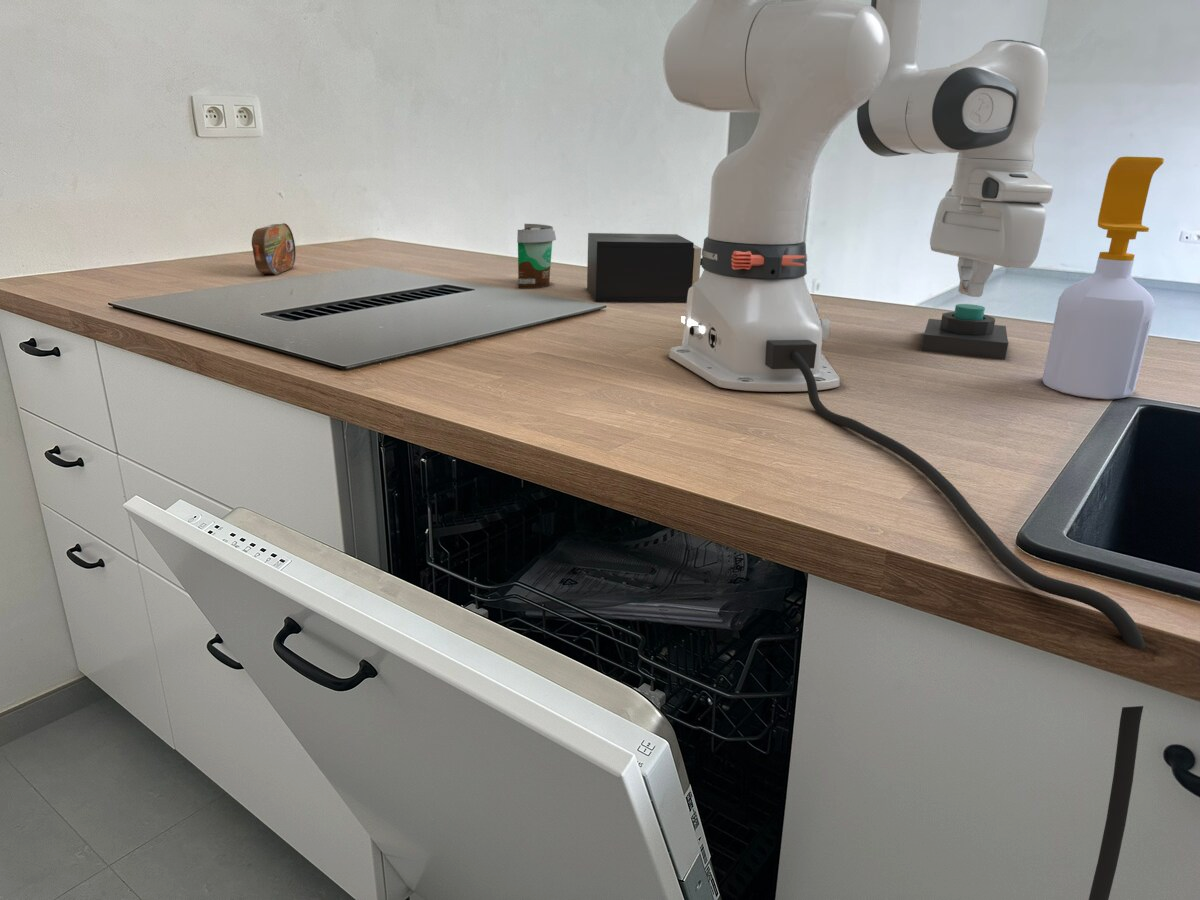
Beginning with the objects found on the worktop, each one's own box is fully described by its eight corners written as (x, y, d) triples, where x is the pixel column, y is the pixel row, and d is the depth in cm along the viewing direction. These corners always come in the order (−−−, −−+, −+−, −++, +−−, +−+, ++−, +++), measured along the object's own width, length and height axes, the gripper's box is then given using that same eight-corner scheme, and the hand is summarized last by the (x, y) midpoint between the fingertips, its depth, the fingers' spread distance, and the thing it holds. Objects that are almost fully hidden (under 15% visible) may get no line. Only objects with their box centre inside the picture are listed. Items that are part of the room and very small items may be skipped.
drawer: (706, 285, 152) (709, 240, 150) (723, 296, 142) (726, 248, 139) (602, 284, 150) (603, 238, 147) (611, 295, 139) (612, 246, 137)
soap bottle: (1046, 394, 93) (1097, 155, 85) (1037, 375, 101) (1083, 155, 93) (1140, 404, 90) (1202, 158, 82) (1123, 383, 98) (1178, 157, 90)
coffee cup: (553, 290, 148) (553, 231, 144) (517, 289, 148) (517, 230, 145) (557, 279, 159) (558, 224, 156) (524, 278, 160) (524, 223, 156)
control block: (1005, 360, 108) (1011, 328, 107) (921, 351, 112) (926, 320, 110) (1002, 341, 118) (1008, 312, 117) (926, 333, 122) (930, 305, 121)
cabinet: (674, 289, 152) (677, 234, 149) (690, 302, 141) (693, 242, 137) (586, 289, 150) (588, 232, 147) (595, 302, 139) (597, 241, 135)
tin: (269, 277, 153) (264, 229, 150) (251, 277, 153) (246, 228, 150) (298, 266, 167) (294, 221, 164) (282, 265, 167) (278, 220, 164)
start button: (982, 323, 112) (985, 309, 111) (953, 320, 113) (955, 307, 112) (982, 318, 115) (984, 305, 114) (953, 315, 116) (955, 303, 115)
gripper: (927, 181, 117) (911, 283, 122) (1011, 185, 98) (988, 307, 102) (971, 183, 118) (953, 284, 122) (1063, 188, 99) (1037, 308, 103)
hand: (969, 295), depth 112 cm, fingers closed
